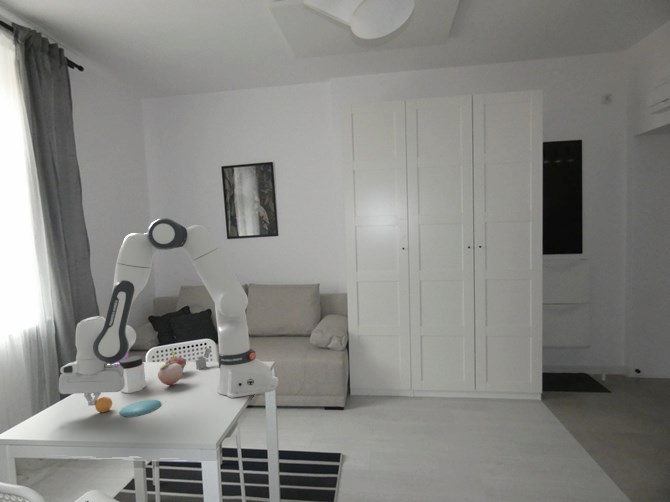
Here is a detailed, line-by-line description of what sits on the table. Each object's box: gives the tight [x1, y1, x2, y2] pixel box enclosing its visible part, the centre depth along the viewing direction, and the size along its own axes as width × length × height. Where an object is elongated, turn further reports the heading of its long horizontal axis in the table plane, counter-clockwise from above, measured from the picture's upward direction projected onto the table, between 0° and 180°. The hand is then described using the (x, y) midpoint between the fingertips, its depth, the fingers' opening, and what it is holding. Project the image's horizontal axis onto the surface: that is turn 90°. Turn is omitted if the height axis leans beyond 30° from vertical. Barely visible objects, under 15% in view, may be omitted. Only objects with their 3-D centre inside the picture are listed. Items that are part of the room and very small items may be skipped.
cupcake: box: [164, 348, 187, 370], centre depth 172 cm, size 9×8×12 cm
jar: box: [118, 355, 147, 394], centre depth 157 cm, size 9×8×12 cm
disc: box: [118, 399, 162, 418], centre depth 138 cm, size 13×13×1 cm
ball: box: [94, 396, 113, 413], centre depth 137 cm, size 5×5×5 cm
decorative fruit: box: [157, 361, 184, 387], centre depth 158 cm, size 9×8×10 cm
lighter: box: [195, 347, 212, 370], centre depth 179 cm, size 7×2×8 cm, turn 143°
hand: (93, 404), depth 137 cm, fingers closed
